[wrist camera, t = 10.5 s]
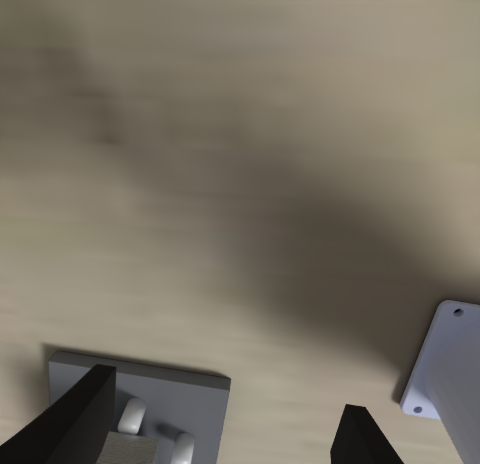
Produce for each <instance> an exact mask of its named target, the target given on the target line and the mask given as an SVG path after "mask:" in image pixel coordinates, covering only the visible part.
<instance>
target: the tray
mask: <svg viewBox="0 0 480 464" xmlns="http://www.w3.org/2000/svg"><path fill="white" fill-rule="evenodd" d="M96 364H102V365H108V366H114V367H117V371H116V390H115V408H114V418H113V421H112V424H111V427H110V430H109V431H110V432H116V433H123V434H130V435H137V436H143V437H150V438H157V439H159V458H158V464H216V461H217V456H218V450H219V445H220V440H221V434H222V429H223V424H224V418H225V413H226V408H227V403H228V397H229V392H230V383H231V379H228V378H222V377H215V376H209V375H203V374H197V373H191V372H185V371H179V370H172V369H166V368H160V367H154V366H148V365H142V364H136V363H130V362H123V361H117V360H111V359H105V358H99V357H93V356H87V355H80V354H74V353H68V352H62V351H56V352H55V353H54V355H53V356H52V357H51V359H50V360H49V394H50V406H51V405H52V404H53V403H54V402H56V401H57V400H58V399H59V398H60V397H61V396H62V395H64V394H65V393H66V392H67V391H68V390H69V389H70V388H71V387H72V386H73V385H74V384H75V383H77V382H78V381H79V380H80V379H81V378H82V377H83V376H84V375H85V374H86V373H87V372H88V371H89V370H90V369H91V368H92V367H93V366H95V365H96Z"/></svg>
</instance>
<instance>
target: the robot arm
mask: <svg viewBox="0 0 480 464" xmlns="http://www.w3.org/2000/svg"><path fill="white" fill-rule="evenodd" d="M457 309H460V311H459V312H457V313H454V311H455V310H457ZM116 371H117V367H114V366H108V365H102V364H96V365H95V366H93V367H92V368H91V369H90V370H89V371H88V372H87V373H86V374H85V375H84V376H83V377H82V378H81V379H80V380H79V381H78V382H77V383H75V384H74V385H73V386H72V387H71V388H70V389H69V390H68V391H67V392H66V393H65V394H64V395H62V396H61V397H60V398H59V399H58V400H57V401H56V402H54V403H53V404H52V405H51V406H50V407H49V408H48V409H46V410H45V411H44V412H43V413H42V414H41V415H39V416H38V417H37V418H36V419H34V420H33V421H32V422H31V423H29V424H28V425H27V426H26V427H24V428H23V429H22V430H20V431H19V432H18V433H17V434H15V435H14V436H13V437H12V438H10V439H9V440H7V441H6V442H5V443H3V444H2V445H1V446H0V464H96V462H97V460H98V458H99V456H100V454H101V451H102V449H103V446H104V444H105V441H106V438H107V435H108V433H109V430H110V427H111V424H112V421H113V418H114V408H115V390H116ZM415 407H418V408H415ZM400 408H401V410H402V412H403V413H405V414H409V415H415V416H422V417H428V418H434V419H440V420H441V421H442V423H443V425H444V427H445V428H446V430H447V432H448V434H449V436H450V438H451V440H452V442H453V444H454V446H455V448H456V450H457V452H458V454H459V456H460V458H461V459H462V461H463V463H464V464H480V305H476V304H470V303H464V302H458V301H452V300H446V301H443V302H441V303H440V304H439V306H438V308H437V310H436V313H435V316H434V318H433V321H432V323H431V326H430V328H429V331H428V333H427V336H426V338H425V341H424V343H423V346H422V348H421V351H420V353H419V356H418V359H417V361H416V364H415V366H414V369H413V371H412V374H411V376H410V379H409V381H408V384H407V386H406V389H405V391H404V394H403V397H402V399H401V402H400ZM330 455H331V464H404V463H403V461H402V460H401V459H400V457H399V456H398V454H397V453H396V452H395V450H394V449H393V447H392V446H391V444H390V443H389V441H388V440H387V438H386V437H385V435H384V434H383V433H382V431H381V430H380V428H379V427H378V425H377V424H376V422H375V421H374V419H373V418H372V416H371V415H370V413H369V412H368V410H367V409H366V407H362V406H355V405H349V404H346V405H345V408H344V411H343V414H342V417H341V420H340V424H339V427H338V430H337V433H336V436H335V439H334V442H333V445H332V448H331V451H330Z"/></svg>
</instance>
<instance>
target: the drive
mask: <svg viewBox="0 0 480 464" xmlns="http://www.w3.org/2000/svg"><path fill="white" fill-rule="evenodd" d="M158 458H159V439H157V438H150V437H143V436H137V435H130V434H123V433H116V432H110V431H109V433H108V435H107V438H106V441H105V444H104V446H103V449H102V451H101V454H100V456H99V458H98V460H97V462H96V464H158Z"/></svg>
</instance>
